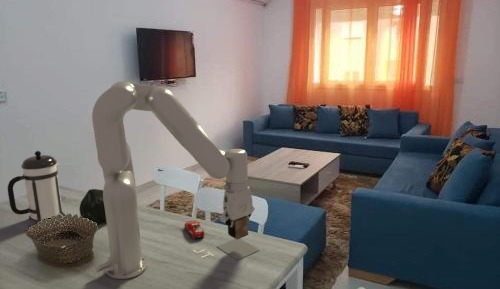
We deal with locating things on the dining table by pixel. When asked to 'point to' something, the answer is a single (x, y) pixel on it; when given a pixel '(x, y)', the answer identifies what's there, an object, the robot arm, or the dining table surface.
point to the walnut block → (241, 227)
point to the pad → (238, 248)
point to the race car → (194, 229)
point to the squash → (93, 206)
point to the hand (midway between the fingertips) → (238, 232)
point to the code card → (204, 255)
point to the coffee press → (39, 188)
